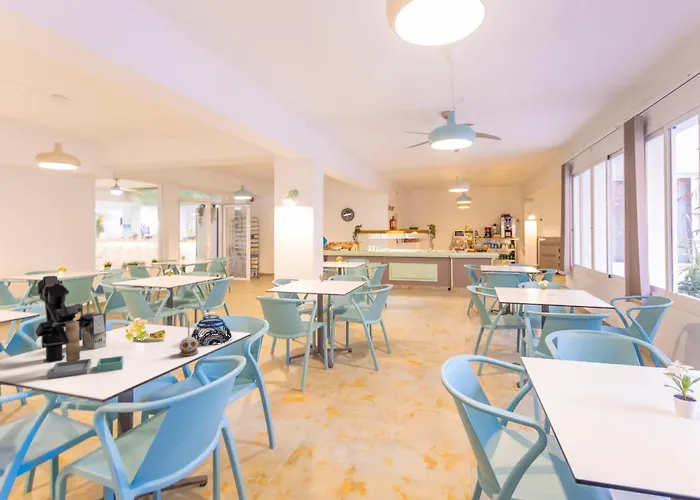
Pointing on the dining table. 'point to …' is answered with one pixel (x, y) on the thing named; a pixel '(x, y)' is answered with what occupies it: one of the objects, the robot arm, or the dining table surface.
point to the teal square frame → (110, 364)
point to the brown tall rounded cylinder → (72, 341)
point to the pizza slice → (153, 337)
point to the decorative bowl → (216, 331)
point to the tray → (70, 368)
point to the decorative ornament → (188, 345)
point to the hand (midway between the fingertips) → (74, 341)
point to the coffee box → (95, 332)
